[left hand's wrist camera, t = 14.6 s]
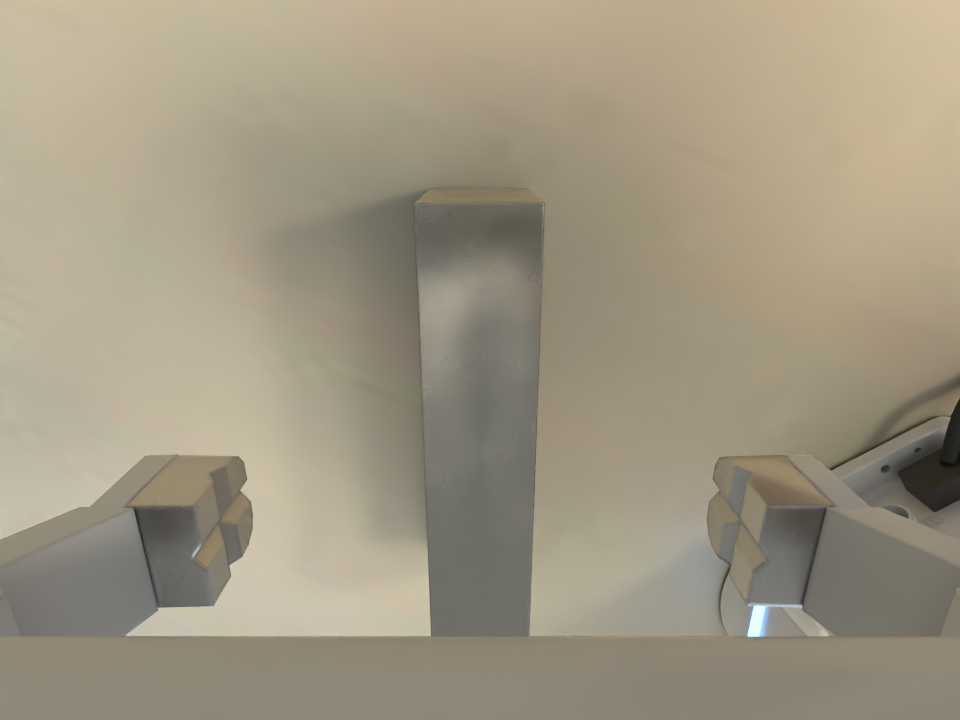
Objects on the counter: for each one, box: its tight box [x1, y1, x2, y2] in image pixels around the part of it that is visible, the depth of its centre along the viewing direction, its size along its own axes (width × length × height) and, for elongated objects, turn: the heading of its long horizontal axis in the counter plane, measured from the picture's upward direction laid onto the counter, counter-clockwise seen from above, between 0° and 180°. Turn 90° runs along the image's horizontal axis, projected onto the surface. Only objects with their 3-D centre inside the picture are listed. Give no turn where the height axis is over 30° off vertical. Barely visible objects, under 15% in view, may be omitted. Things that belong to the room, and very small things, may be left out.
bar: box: [414, 188, 545, 636], centre depth 32 cm, size 24×6×9 cm, turn 0°
